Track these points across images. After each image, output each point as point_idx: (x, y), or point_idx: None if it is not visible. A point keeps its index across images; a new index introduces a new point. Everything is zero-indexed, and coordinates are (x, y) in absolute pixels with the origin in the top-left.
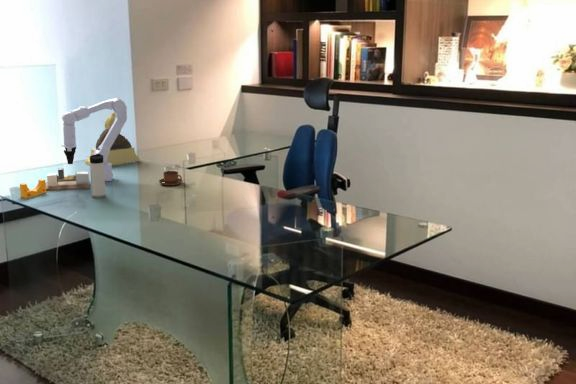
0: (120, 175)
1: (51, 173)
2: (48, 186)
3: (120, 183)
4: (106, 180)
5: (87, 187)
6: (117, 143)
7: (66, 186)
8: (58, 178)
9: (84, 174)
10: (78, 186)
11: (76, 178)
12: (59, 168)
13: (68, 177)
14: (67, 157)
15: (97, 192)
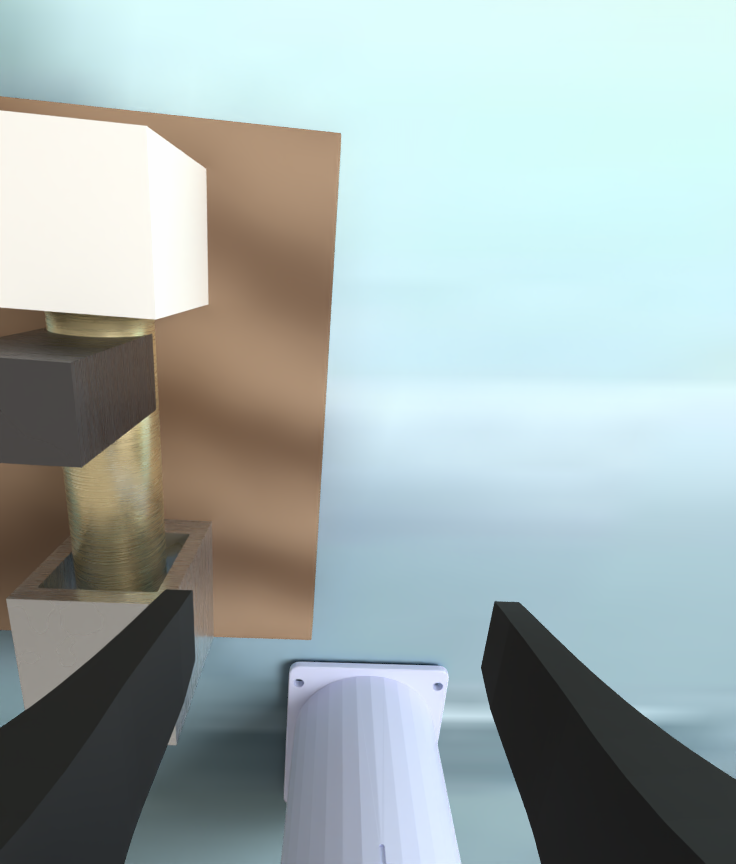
0: (482, 846)
1: (117, 205)
2: None
3: (188, 841)
4: (285, 764)
5: (1, 613)
6: None
7: None
8: (46, 325)
9: (28, 697)
10: (16, 535)
11: (43, 567)
12: (64, 385)
13: (64, 474)
14: (40, 724)
15: None
